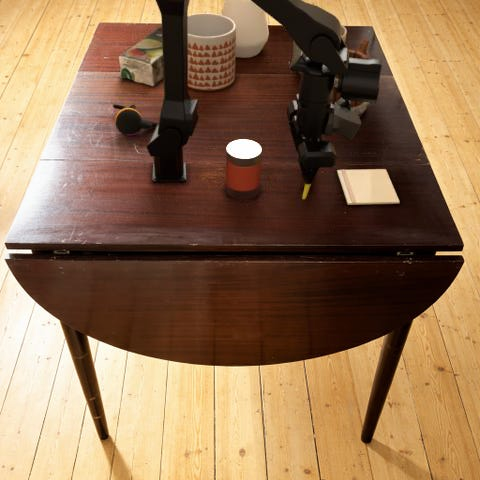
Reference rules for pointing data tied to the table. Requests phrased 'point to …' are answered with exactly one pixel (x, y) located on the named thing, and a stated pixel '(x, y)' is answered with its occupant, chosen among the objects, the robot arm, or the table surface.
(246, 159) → the can
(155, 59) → the juice carton
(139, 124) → the character figurine
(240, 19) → the white rounded pot
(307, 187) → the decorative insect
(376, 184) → the napkin
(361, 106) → the mug
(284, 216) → the table surface
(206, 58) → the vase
